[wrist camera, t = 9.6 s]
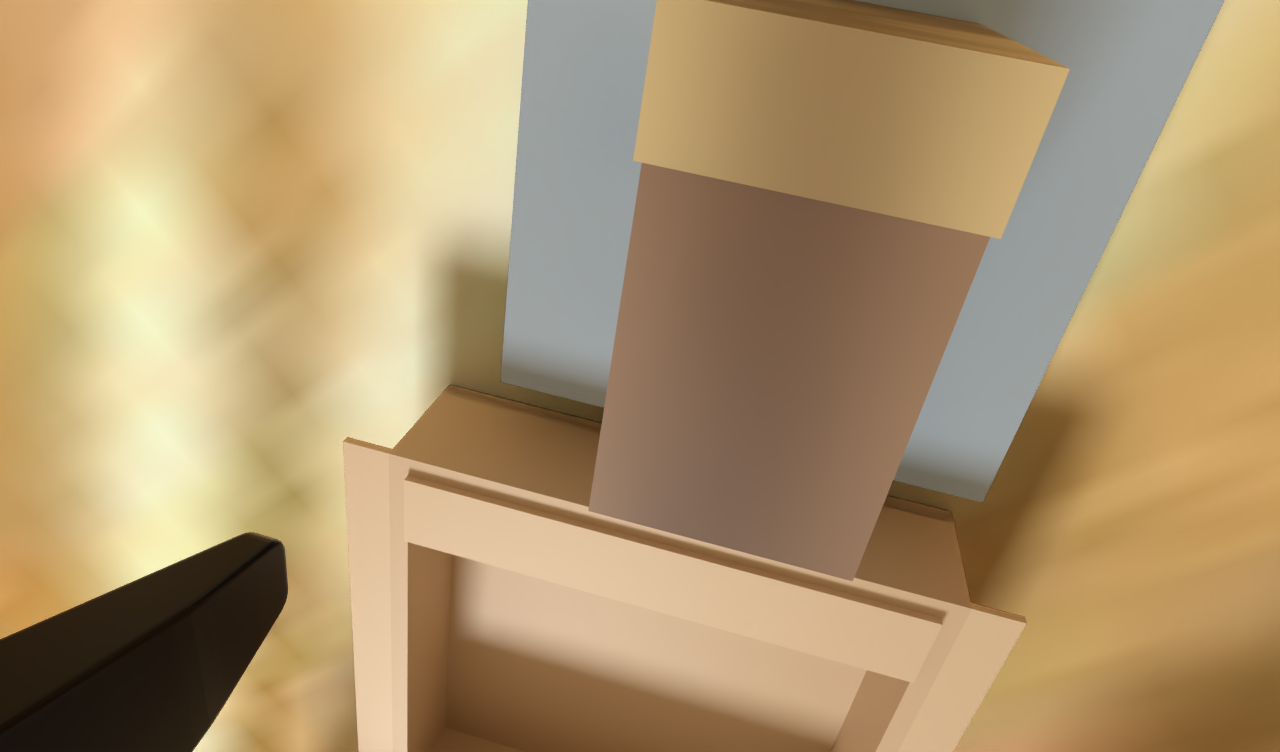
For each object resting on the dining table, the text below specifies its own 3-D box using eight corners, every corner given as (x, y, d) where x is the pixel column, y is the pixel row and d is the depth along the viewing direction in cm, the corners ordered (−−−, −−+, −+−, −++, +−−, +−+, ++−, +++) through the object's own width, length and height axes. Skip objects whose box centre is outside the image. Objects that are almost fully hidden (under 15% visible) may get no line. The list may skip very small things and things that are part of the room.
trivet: (1222, -78, 14) (1264, -81, 12) (972, 466, 20) (982, 502, 18) (566, -186, 15) (542, -198, 14) (520, 355, 21) (500, 381, 20)
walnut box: (981, 23, 14) (1070, 69, 9) (851, 400, 18) (858, 587, 13) (722, -24, 14) (657, -9, 9) (653, 352, 18) (581, 513, 13)
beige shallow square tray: (998, 523, 20) (1028, 630, 17) (837, 842, 28) (838, 956, 25) (409, 374, 22) (338, 446, 19) (408, 711, 30) (357, 802, 26)
